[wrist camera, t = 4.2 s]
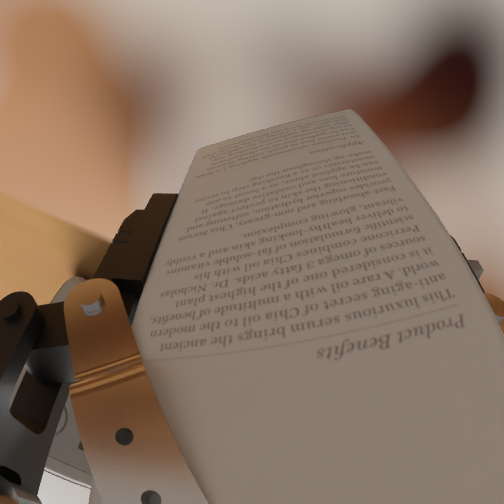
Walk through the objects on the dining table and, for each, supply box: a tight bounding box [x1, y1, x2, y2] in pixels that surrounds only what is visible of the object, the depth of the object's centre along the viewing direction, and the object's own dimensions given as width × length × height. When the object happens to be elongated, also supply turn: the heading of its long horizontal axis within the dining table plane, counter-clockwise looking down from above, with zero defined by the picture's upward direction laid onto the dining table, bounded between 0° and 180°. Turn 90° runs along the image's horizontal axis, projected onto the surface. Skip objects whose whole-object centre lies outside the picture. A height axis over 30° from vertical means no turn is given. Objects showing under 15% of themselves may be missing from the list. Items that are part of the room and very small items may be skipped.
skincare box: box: [89, 109, 504, 504], centre depth 8 cm, size 6×4×12 cm
